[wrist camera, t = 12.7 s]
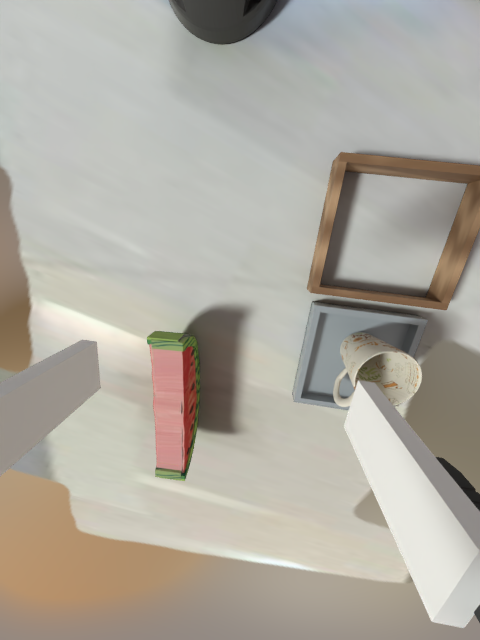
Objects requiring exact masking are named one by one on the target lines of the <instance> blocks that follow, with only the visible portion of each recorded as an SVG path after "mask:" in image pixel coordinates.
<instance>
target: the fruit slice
mask: <svg viewBox="0 0 480 640" xmlns="http://www.w3.org/2000/svg"><path fill="white" fill-rule="evenodd" d="M147 343H148V344H149V346H150V354H151V362H152V380H153V390H154V401H153V409H154V415H155V430H156V454H157V465H156V470H155V477H159V478H166V479H174V480H181V481H185V478H186V475H187V472H188V469H189V465H190V462H191V457H192V453H193V449H194V443H195V437H196V432H197V424H198V411H199V400H200V368H199V355H198V344H197V341H196V339H195V337H194V336H190V335H189V334H183V333H173V332H162V331H155V332H153V333H152V334H151V335H149V336H148V337H147Z"/></svg>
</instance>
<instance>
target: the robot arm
mask: <svg viewBox="0 0 480 640" xmlns="http://www.w3.org/2000/svg"><path fill="white" fill-rule="evenodd" d="M169 2H170V5H171V7H172V9H173V11H174V13H175V14H176V16H177V17H178V19H179V20H180V22H181V23H182V24H183V25H184V26H185V28H186V29H188V30H189V31H190V32H191V33H192V34H193V35H195V36H196V37H198V38H200V39H202V40H204V41H207V42H210V43H215V44H227V43H232V42H236V41H239V40H241V39H243V38H245V37H247V36H248V35H250V34H251V33H252V32H254V31H255V30H256V29H257V28H258V27H259V26H260V25H261V24H262V23H263V22H264V21H265V19H266V18H267V17H268V15H269V14H270V12H271V11H272V9H273V7H274V5H275V4H276V2H277V0H169ZM100 388H101V387H100V375H99V364H98V352H97V342H94V341H87V340H81V341H79V342H77V343H75V344H73V345H71V346H69V347H68V348H66V349H64V350H62V351H60V352H58V353H56V354H54V355H52V356H50V357H48V358H46V359H45V360H43V361H41V362H39V363H37V364H35V365H33V366H31V367H29V368H27V369H25V370H24V371H22V372H20V373H18V374H16V375H14V376H12V377H10V378H8V379H6V380H4V381H2V382H1V383H0V476H1V475H2V474H3V473H4V472H6V471H7V470H8V469H9V468H10V467H11V466H12V465H14V464H15V463H16V462H17V461H18V460H19V459H20V458H22V457H23V456H24V455H25V454H26V453H27V452H28V451H30V450H31V449H32V448H33V447H34V446H35V445H36V444H37V443H39V442H40V441H41V440H42V439H43V438H44V437H45V436H47V435H48V434H49V433H50V432H51V431H52V430H53V429H55V428H56V427H57V426H58V425H59V424H60V423H61V422H63V421H64V420H65V419H66V418H67V417H68V416H69V415H70V414H72V413H73V412H74V411H75V410H76V409H77V408H78V407H80V406H81V405H82V404H83V403H84V402H85V401H86V400H88V399H89V398H90V397H91V396H92V395H93V394H94V393H95V392H97V391H98V390H99V389H100ZM344 428H345V430H346V432H347V435H348V437H349V439H350V441H351V443H352V446H353V448H354V450H355V452H356V455H357V457H358V459H359V461H360V463H361V466H362V468H363V470H364V472H365V475H366V477H367V479H368V481H369V483H370V486H371V488H372V490H373V492H374V494H375V497H376V499H377V501H378V503H379V505H380V508H381V510H382V512H383V515H384V516H385V519H386V521H387V523H388V526H389V528H390V530H391V532H392V535H393V537H394V539H395V541H396V543H397V546H398V548H399V550H400V552H401V555H402V557H403V559H404V561H405V563H406V566H407V568H408V570H409V572H410V575H411V577H412V579H413V581H414V583H415V586H416V588H417V590H418V592H419V594H420V597H421V599H422V601H423V603H424V605H425V608H426V610H427V612H428V614H429V617H430V619H431V621H432V622H435V623H441V624H445V625H451V626H456V627H461V628H464V627H465V626H466V625H467V623H468V622H469V621H470V619H471V618H472V617H473V615H474V614H475V615H476V617H477V619H478V621H479V622H480V494H479V493H478V492H476V491H475V488H474V487H473V486H472V485H471V484H470V483H469V481H468V480H467V479H466V478H465V477H464V476H463V475H462V473H461V472H459V471H458V470H457V469H456V468H455V467H453V466H452V465H451V464H450V463H448V462H447V461H446V460H445V459H443V458H439V457H435V456H434V455H433V454H432V453H431V452H430V450H429V449H428V448H427V446H426V445H425V444H424V443H423V442H422V440H421V439H420V438H419V437H418V435H417V434H416V433H415V432H414V430H413V429H412V428H411V427H410V426H409V424H408V423H407V422H406V421H405V419H404V418H403V417H402V416H401V415H400V413H399V412H398V411H397V410H396V408H395V407H394V406H393V405H392V404H391V402H390V401H389V400H388V399H387V397H386V396H385V395H384V394H383V393H382V391H381V390H380V389H379V388H378V386H377V385H376V384H375V383H374V382H367V381H360V380H358V382H357V386H356V389H355V392H354V395H353V398H352V402H351V405H350V408H349V411H348V414H347V418H346V421H345V424H344Z"/></svg>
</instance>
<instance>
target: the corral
mask: <svg viewBox="0 0 480 640" xmlns="http://www.w3.org/2000/svg"><path fill="white" fill-rule="evenodd" d="M345 171H348V172H357V173H367V174H377V175H387V176H397V177H407V178H417V179H426V180H436V181H446V182H456V183H466V184H468V185H467V187H466V190H465V193H464V195H463V198H462V201H461V204H460V206H459V209H458V212H457V214H456V217H455V220H454V223H453V225H452V228H451V231H450V233H449V236H448V239H447V242H446V244H445V247H444V250H443V252H442V255H441V258H440V260H439V263H438V266H437V269H436V271H435V274H434V277H433V279H432V282H431V285H430V288H429V290H428V293H427V296H426V298H425V297H417V296H409V295H401V294H394V293H386V292H378V291H370V290H362V289H354V288H346V287H338V286H331V285H323V284H320V282H321V277H322V273H323V268H324V264H325V259H326V255H327V250H328V246H329V241H330V237H331V232H332V228H333V223H334V219H335V214H336V210H337V205H338V200H339V196H340V191H341V187H342V182H343V178H344V173H345ZM479 228H480V166H478V165H468V164H457V163H447V162H437V161H427V160H416V159H406V158H396V157H385V156H375V155H365V154H355V153H344V152H341V153H340V154H339V155H338V156H337V157H336V159H335V160H334V161H333V164H332V169H331V174H330V179H329V183H328V188H327V193H326V198H325V203H324V208H323V213H322V218H321V222H320V227H319V232H318V237H317V242H316V247H315V252H314V257H313V262H312V266H311V271H310V276H309V281H308V286H307V289H308V290H309V291H310V292H311V293H316V294H324V295H332V296H340V297H347V298H355V299H363V300H371V301H378V302H386V303H394V304H402V305H409V306H417V307H425V308H433V309H440V310H447V308H448V305H449V303H450V300H451V298H452V295H453V293H454V290H455V288H456V285H457V283H458V280H459V278H460V275H461V273H462V271H463V268H464V266H465V263H466V261H467V258H468V256H469V253H470V251H471V248H472V246H473V243H474V241H475V238H476V236H477V233H478V231H479Z"/></svg>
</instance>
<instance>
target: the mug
mask: <svg viewBox="0 0 480 640" xmlns="http://www.w3.org/2000/svg"><path fill="white" fill-rule="evenodd" d="M340 354H341V357H342V359H343V362H344V365H345V367H346V368H344V369H343V370H342V372H341V373H340V374H339V375H338V376H337V378H336V380H335V383H334V389H333V397H334V401H335V402H336V404H337V405H339V406H341V407H348V406H350V405H351V402H352V398H353V395H354V392H355V391H354V392H353V393H352V394H351V395H350V396H349V397H348V398H346V399H343V398H341V397H340V394H339V389H340V382H341V380H342V379H343V377H344V376H345V375H346V373H347V372H348V375H349V377H350V380H351V382H352V385H353V387H354V389H356V386H357V382H358V380H360V381H367V382H374V383H375V384H376V385H377V386H378V388H379V389H380V390H381V391H382V393H383V394H384V395H385V396H386V397H387V399H388V400H389V401H390V402H391V404H392V405H393V406H395V405H398V404H401V403H403V402H405V401H407V400H408V399H409V398H411V397H412V396H413V395H414V394H415V393H416V391H417V390H418V388H419V386H420V384H421V381H422V371H421V368H420V365H419V364H418V362H417V361H416V360H415V359H414V358H413V357H412V356H410V355H409V354H407V353H405V352H404V351H402V350H400V349H398V348H396V347H394V346H392V345H390V344H388V343H386V342H384V341H382V340H380V339H378V338H376V337H374V336H372V335H370V334H367V333H363V332H357V333H353V334H351V335H349V336H347V337H346V338H345V339H344V340H343V342H342V344H341V346H340Z"/></svg>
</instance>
